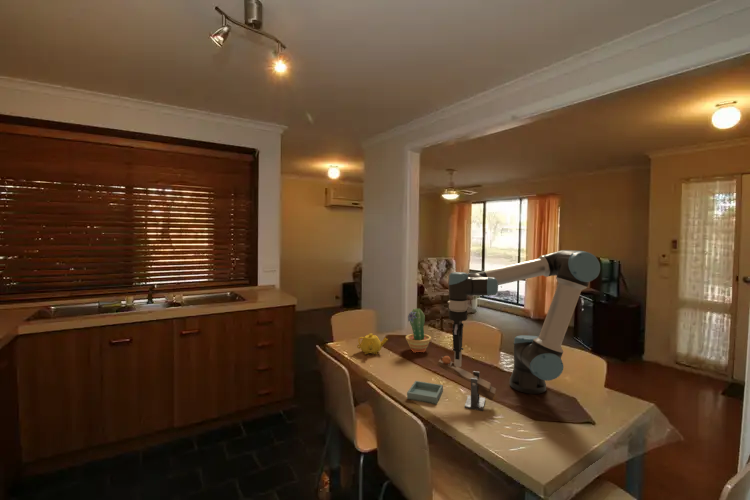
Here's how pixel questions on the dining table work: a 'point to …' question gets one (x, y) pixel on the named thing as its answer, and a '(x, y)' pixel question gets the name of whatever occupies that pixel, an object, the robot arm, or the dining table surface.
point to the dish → (425, 392)
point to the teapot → (371, 344)
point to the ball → (446, 360)
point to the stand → (475, 395)
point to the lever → (483, 384)
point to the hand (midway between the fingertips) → (457, 365)
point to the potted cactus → (417, 332)
